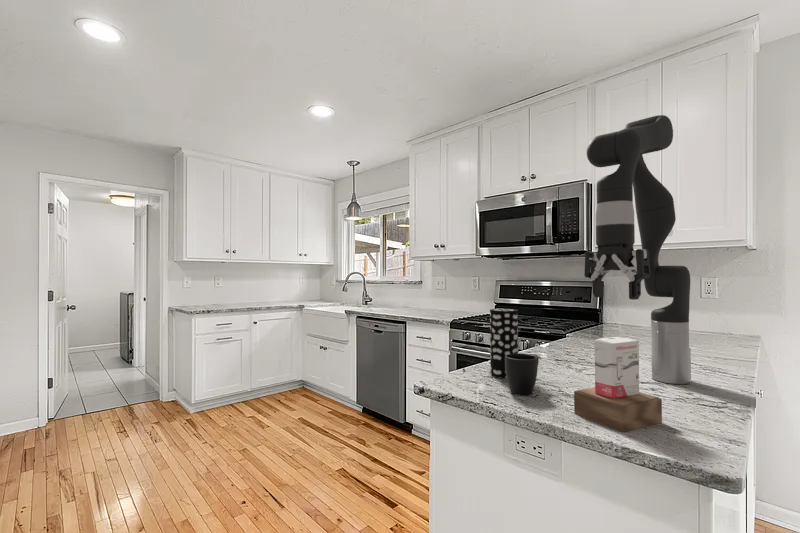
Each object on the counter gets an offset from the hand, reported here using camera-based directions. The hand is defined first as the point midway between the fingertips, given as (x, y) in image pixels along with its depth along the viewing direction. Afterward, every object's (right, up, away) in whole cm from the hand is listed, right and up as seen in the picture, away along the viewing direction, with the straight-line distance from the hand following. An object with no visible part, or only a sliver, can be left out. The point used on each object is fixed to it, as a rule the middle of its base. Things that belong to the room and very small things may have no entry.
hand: (615, 298), depth 90 cm
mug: (-14, -27, +20) cm, 36 cm away
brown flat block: (0, -26, 0) cm, 26 cm away
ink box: (0, -21, 0) cm, 21 cm away
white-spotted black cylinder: (-15, -27, +37) cm, 48 cm away
